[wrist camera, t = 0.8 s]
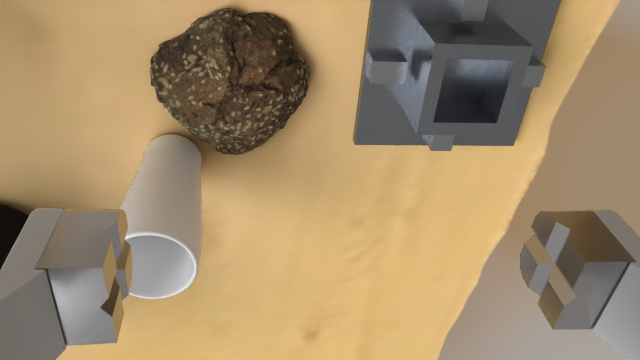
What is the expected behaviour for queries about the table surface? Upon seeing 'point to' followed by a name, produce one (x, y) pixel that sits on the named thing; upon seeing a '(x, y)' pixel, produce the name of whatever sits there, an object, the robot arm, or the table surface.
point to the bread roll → (231, 79)
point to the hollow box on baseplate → (450, 71)
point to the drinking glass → (165, 218)
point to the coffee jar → (9, 229)
